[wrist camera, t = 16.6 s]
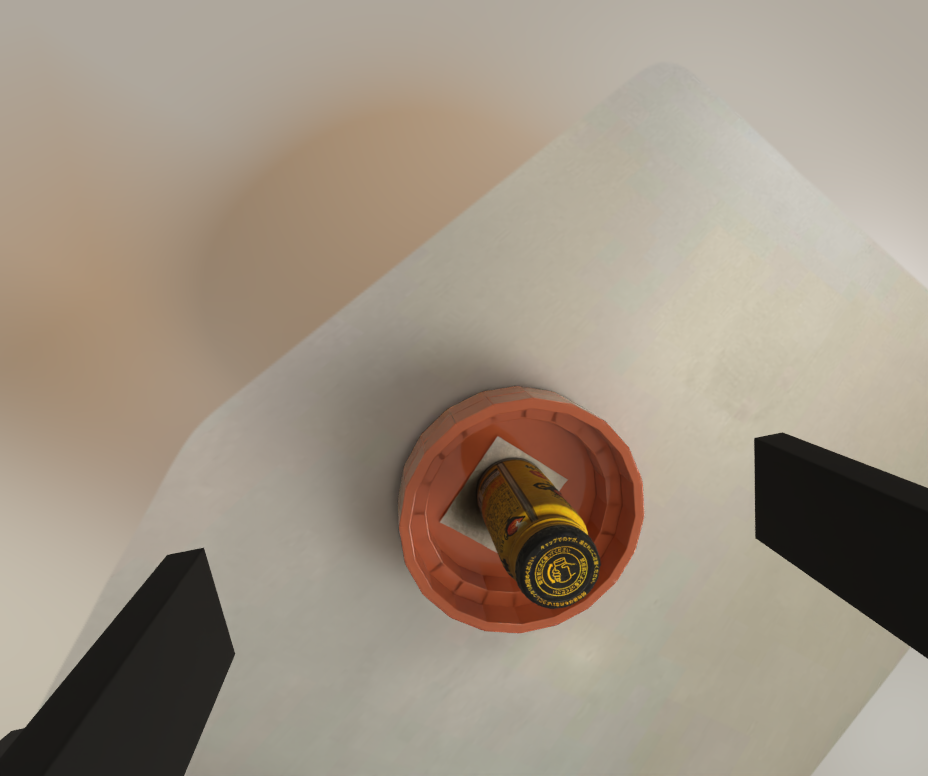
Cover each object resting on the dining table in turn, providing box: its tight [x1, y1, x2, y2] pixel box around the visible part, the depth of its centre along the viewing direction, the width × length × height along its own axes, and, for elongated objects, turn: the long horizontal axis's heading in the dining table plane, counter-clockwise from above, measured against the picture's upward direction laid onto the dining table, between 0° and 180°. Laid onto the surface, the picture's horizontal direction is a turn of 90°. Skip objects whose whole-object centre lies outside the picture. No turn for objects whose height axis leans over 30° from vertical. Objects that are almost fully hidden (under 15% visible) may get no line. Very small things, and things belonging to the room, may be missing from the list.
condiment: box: [440, 436, 601, 609], centre depth 35 cm, size 7×8×12 cm
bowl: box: [398, 386, 644, 633], centre depth 39 cm, size 19×19×5 cm
